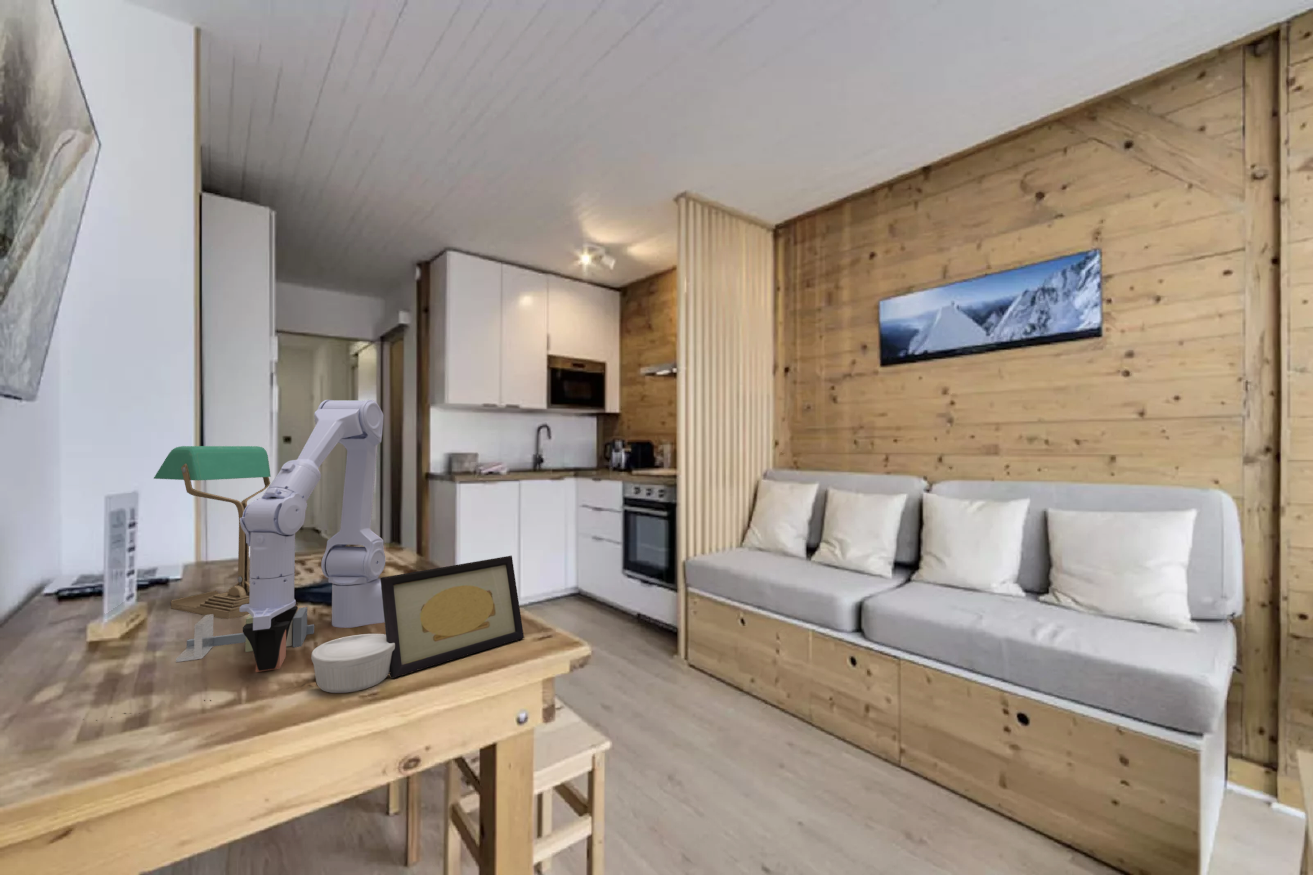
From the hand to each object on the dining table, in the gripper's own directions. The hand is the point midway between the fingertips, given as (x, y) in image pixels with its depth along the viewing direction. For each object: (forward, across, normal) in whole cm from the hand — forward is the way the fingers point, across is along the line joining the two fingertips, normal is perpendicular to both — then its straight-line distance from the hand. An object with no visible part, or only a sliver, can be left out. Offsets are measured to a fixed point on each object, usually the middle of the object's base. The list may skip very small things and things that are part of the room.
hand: (271, 662), depth 84 cm
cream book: (0, -10, 0) cm, 10 cm away
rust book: (+1, 0, 0) cm, 1 cm away
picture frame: (+2, +3, +26) cm, 27 cm away
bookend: (0, -10, -12) cm, 16 cm away
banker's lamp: (+2, -44, -17) cm, 47 cm away
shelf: (+1, -10, -5) cm, 11 cm away
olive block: (0, -10, -3) cm, 11 cm away
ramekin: (+2, +9, +12) cm, 15 cm away
